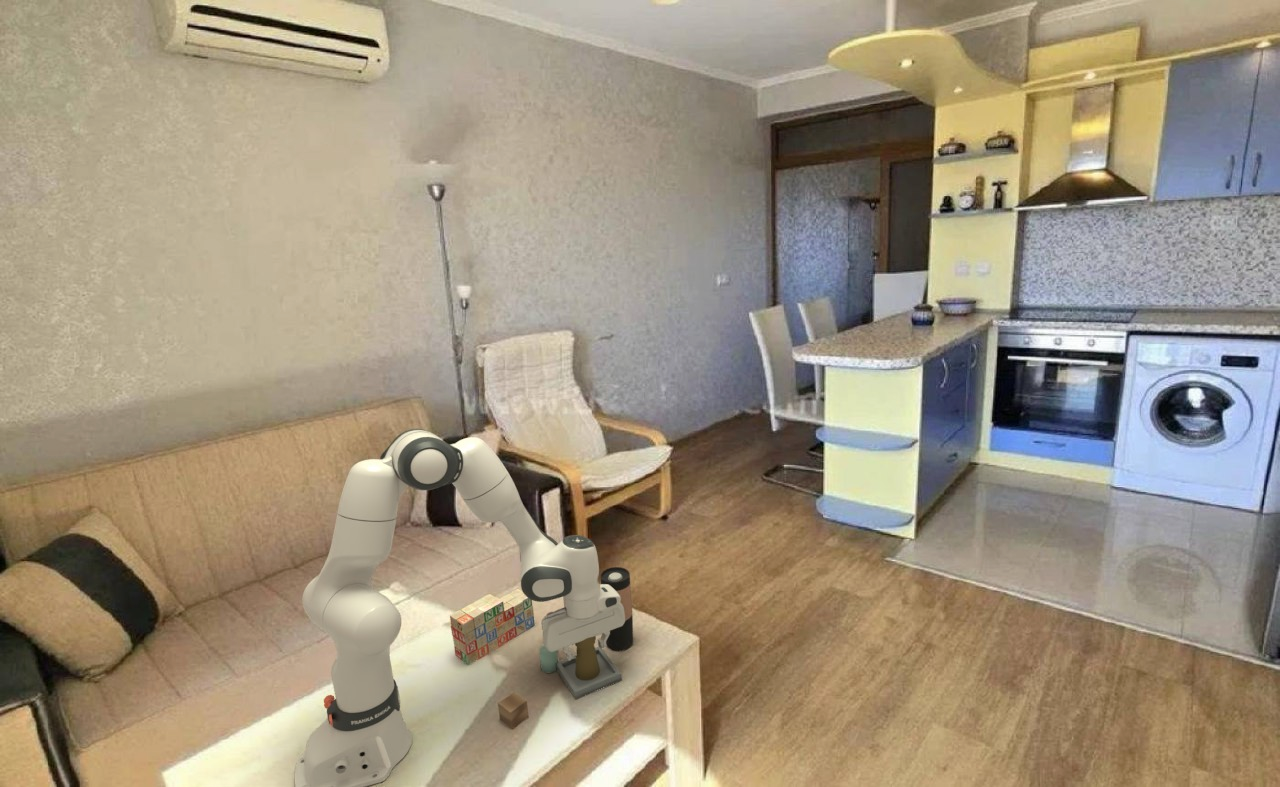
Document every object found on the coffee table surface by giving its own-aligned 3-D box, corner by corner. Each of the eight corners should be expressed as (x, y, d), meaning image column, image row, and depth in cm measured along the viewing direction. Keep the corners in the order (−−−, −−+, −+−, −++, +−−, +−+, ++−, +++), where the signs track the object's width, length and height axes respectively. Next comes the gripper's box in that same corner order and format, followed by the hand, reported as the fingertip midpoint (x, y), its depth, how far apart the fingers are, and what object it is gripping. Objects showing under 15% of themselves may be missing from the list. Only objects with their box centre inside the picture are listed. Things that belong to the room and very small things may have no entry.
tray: (575, 699, 143) (574, 692, 143) (556, 669, 153) (556, 662, 153) (621, 680, 148) (621, 673, 148) (600, 652, 159) (600, 646, 158)
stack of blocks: (521, 617, 176) (517, 578, 173) (535, 625, 172) (531, 586, 169) (454, 656, 161) (448, 614, 158) (468, 666, 156) (462, 623, 153)
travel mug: (599, 642, 163) (593, 574, 158) (621, 629, 168) (617, 563, 163) (617, 656, 157) (612, 586, 152) (640, 642, 162) (636, 574, 157)
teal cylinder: (545, 675, 152) (543, 658, 150) (538, 665, 155) (536, 648, 154) (561, 667, 154) (560, 650, 153) (554, 658, 158) (552, 641, 156)
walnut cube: (512, 729, 135) (510, 712, 134) (500, 720, 138) (497, 703, 137) (528, 717, 139) (526, 700, 137) (516, 708, 142) (514, 691, 140)
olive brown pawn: (595, 681, 147) (592, 641, 145) (571, 678, 149) (568, 639, 146) (603, 665, 153) (600, 626, 150) (579, 662, 154) (576, 623, 152)
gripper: (545, 622, 138) (550, 675, 142) (626, 594, 148) (629, 645, 151) (536, 609, 144) (541, 660, 147) (614, 582, 153) (618, 631, 157)
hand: (586, 652), depth 149 cm, fingers open, 7 cm apart
